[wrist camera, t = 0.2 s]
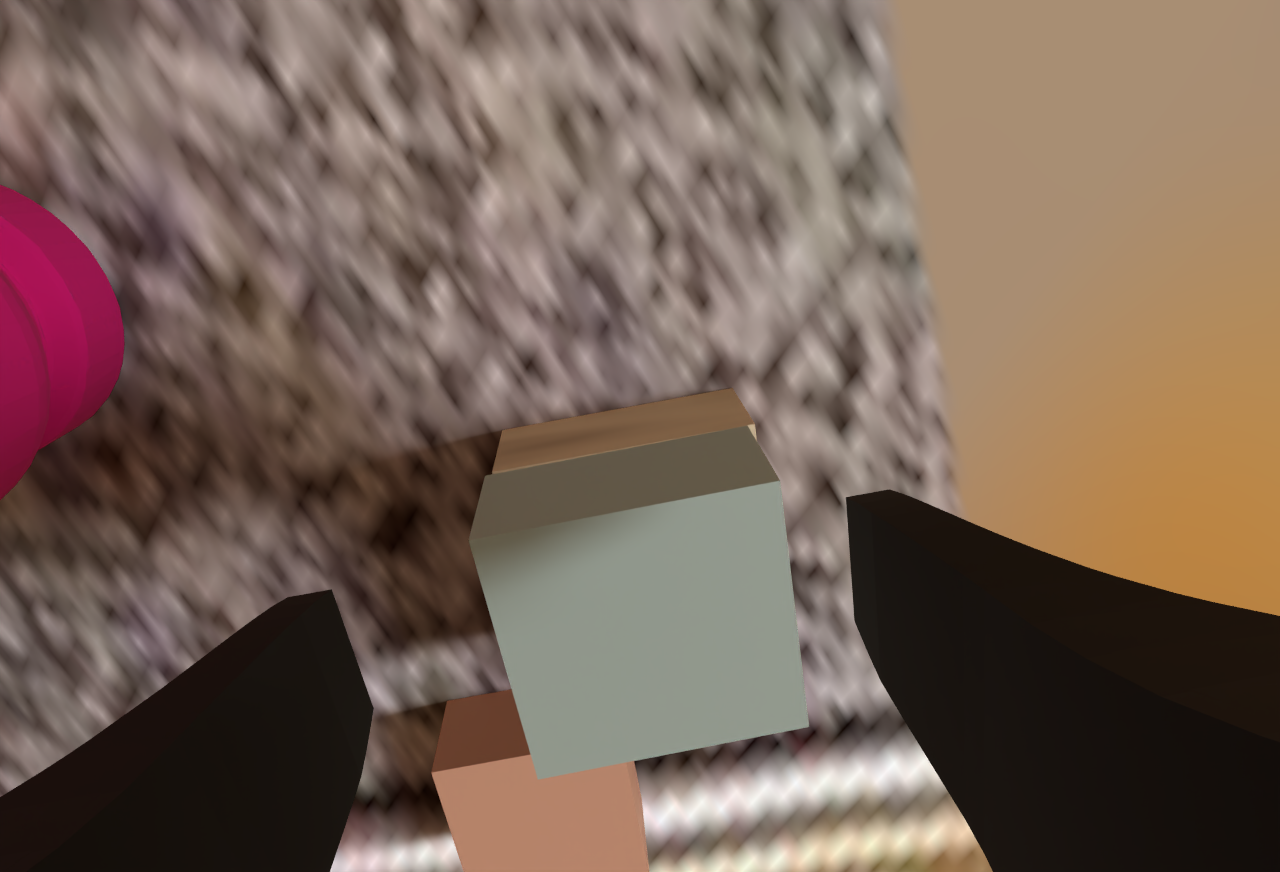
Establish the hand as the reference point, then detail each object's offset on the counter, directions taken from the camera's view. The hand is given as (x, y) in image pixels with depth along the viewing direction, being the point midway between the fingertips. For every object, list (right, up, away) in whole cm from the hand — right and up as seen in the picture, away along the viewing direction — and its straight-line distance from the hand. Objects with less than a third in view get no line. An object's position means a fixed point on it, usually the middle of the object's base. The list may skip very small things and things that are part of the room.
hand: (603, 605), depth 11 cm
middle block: (+1, -1, +8) cm, 8 cm away
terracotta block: (-2, -7, +13) cm, 15 cm away
